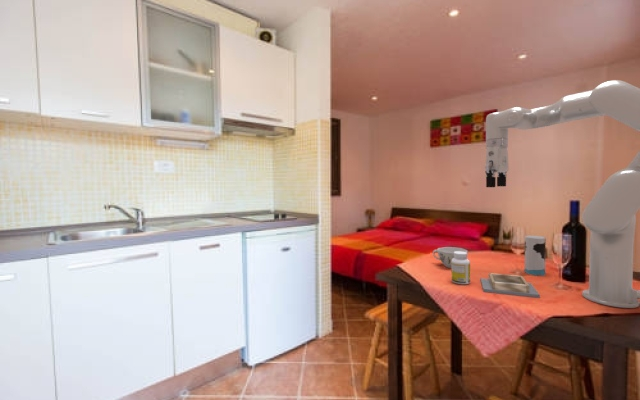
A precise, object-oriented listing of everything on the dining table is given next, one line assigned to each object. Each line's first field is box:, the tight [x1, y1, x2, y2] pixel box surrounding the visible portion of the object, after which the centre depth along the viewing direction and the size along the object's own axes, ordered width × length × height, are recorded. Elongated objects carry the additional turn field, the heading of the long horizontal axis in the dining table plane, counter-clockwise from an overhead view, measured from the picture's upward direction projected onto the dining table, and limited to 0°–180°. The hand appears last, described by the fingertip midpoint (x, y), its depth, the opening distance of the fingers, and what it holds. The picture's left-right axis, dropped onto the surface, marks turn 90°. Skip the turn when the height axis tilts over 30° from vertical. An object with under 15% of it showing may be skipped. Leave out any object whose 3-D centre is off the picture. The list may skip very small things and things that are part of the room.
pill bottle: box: [450, 251, 471, 285], centre depth 110 cm, size 6×6×12 cm
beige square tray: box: [488, 272, 529, 293], centre depth 102 cm, size 11×11×2 cm
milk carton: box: [524, 235, 547, 276], centre depth 117 cm, size 7×7×15 cm
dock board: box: [479, 277, 541, 299], centre depth 102 cm, size 16×12×1 cm
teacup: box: [432, 246, 468, 269], centre depth 130 cm, size 15×12×8 cm
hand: (496, 186), depth 115 cm, fingers open, 9 cm apart
